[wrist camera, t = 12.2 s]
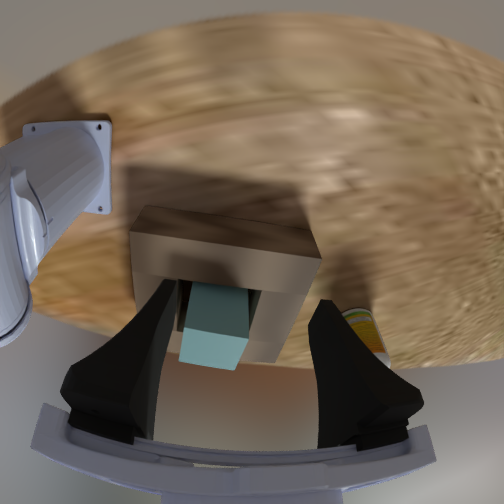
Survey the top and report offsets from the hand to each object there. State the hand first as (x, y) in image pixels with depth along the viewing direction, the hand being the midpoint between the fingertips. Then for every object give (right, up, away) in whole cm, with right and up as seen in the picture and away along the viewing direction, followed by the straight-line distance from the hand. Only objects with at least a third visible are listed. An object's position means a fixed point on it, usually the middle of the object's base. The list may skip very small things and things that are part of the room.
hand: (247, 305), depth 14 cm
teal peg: (-3, 0, +13) cm, 13 cm away
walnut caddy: (-3, 0, +13) cm, 13 cm away
